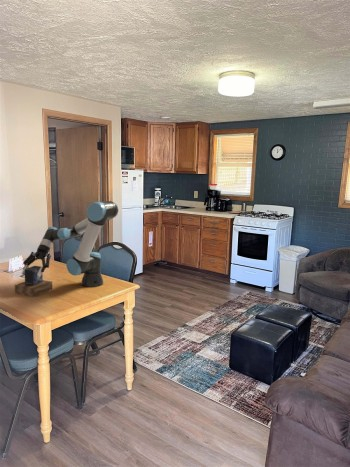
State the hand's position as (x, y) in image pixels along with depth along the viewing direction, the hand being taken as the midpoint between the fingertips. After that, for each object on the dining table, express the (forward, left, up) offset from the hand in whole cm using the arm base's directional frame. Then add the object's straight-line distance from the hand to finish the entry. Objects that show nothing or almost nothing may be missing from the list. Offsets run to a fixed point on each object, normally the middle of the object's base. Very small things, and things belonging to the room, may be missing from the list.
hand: (30, 275), depth 220 cm
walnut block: (0, -3, -12) cm, 13 cm away
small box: (0, -3, -6) cm, 7 cm away
